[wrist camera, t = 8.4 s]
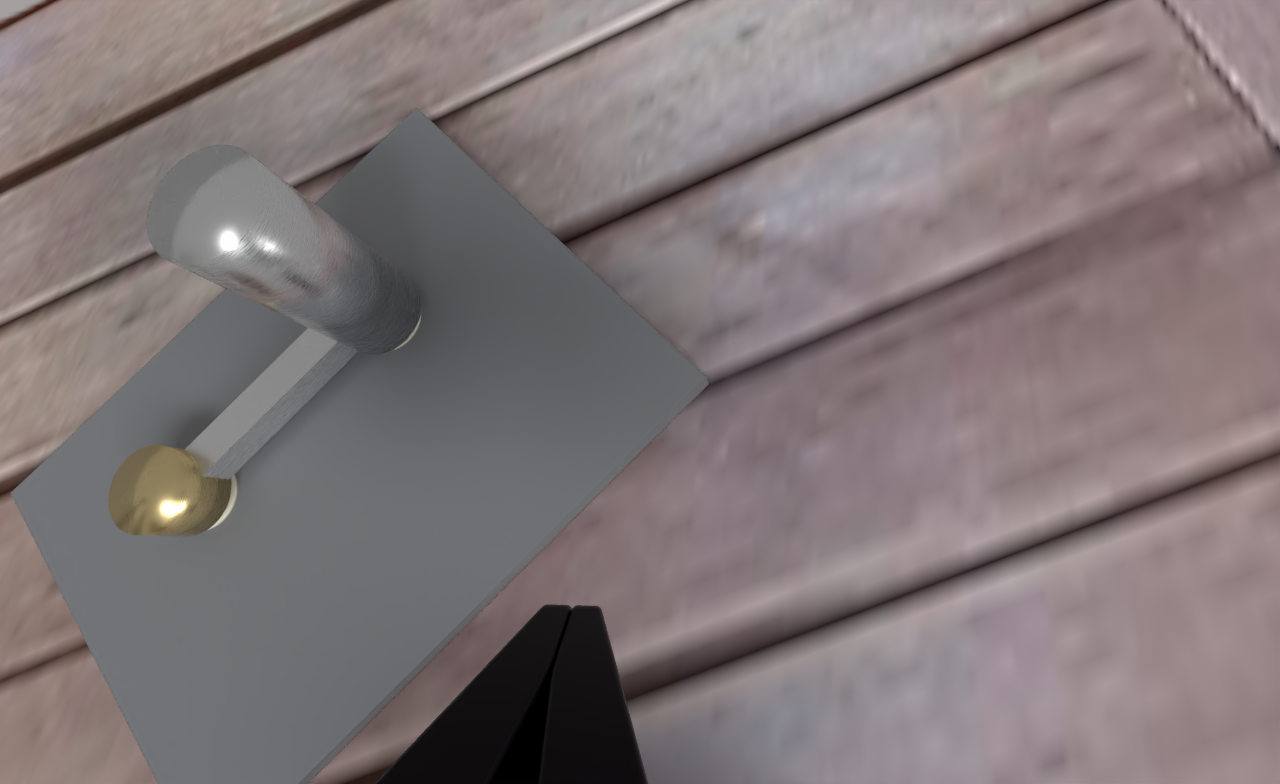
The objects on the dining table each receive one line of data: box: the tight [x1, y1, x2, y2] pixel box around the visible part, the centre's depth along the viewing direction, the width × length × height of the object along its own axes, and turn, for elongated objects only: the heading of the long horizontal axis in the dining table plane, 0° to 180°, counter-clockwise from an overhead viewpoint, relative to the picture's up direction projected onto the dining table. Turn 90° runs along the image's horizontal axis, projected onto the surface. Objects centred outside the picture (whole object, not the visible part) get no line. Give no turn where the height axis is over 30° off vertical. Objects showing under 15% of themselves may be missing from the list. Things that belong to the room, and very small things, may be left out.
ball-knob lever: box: [108, 145, 422, 536], centre depth 20 cm, size 13×4×8 cm, turn 135°
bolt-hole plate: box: [11, 108, 709, 784], centre depth 24 cm, size 24×18×1 cm
